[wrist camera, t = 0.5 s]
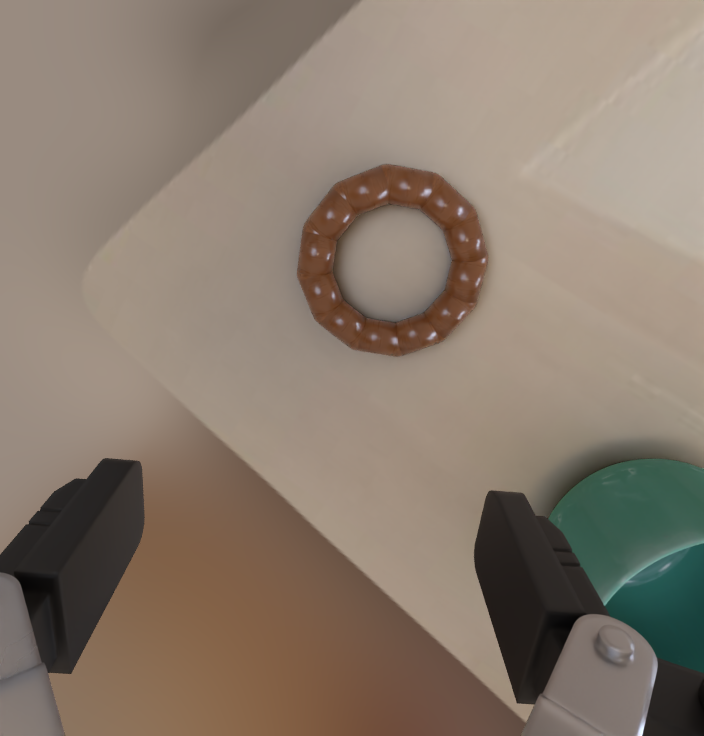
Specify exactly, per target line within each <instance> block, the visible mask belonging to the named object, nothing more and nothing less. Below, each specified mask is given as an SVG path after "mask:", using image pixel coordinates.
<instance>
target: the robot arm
mask: <svg viewBox="0 0 704 736" xmlns="http://www.w3.org/2000/svg"><path fill="white" fill-rule="evenodd" d="M143 527H144V499H143V479H142V466H141V463H140V462H139V461H133V460H121V459H109V458H105V459H103V460H102V461H101V462H100V463H99V464H98V466H97V467H96V468H95V469H94V470H93V472H92V473H91V474H90V475H89V477H88V478H87V479H74V480H72V481H71V482H69V483H68V484H66V485H65V486H63V487H61V488H59V489H58V490H56V491H54V493H53V494H52V495H51V496H50V497H49V498H48V500H47V501H46V502H45V503H44V504H43V506H42V507H41V509H40V511H37V513H36V514H35V515H34V516H33V517H32V518H31V520H30V521H29V524H28V525H25V526H24V528H23V529H22V530H21V531H20V532H19V533H18V535H17V536H16V537H15V538H14V539H13V541H12V542H11V543H10V544H9V545H8V546H7V548H6V549H5V550H4V551H3V552H2V553H1V555H0V736H65V733H64V730H63V726H62V723H61V719H60V716H59V712H58V708H57V705H56V701H55V697H54V694H53V690H52V686H51V683H50V679H49V675H48V673H63V674H71V673H72V671H73V669H74V667H75V665H76V663H77V661H78V659H79V657H80V656H81V654H82V652H83V650H84V648H85V646H86V644H87V642H88V640H89V638H90V637H91V634H92V633H93V631H94V629H95V627H96V625H97V623H98V621H99V619H100V618H101V616H102V614H103V612H104V610H105V608H106V606H107V604H108V602H109V601H110V599H111V597H112V595H113V593H114V591H115V589H116V587H117V585H118V583H119V581H120V579H121V578H122V576H123V574H124V572H125V570H126V568H127V566H128V564H129V562H130V561H131V558H132V557H133V555H134V553H135V551H136V549H137V547H138V545H139V543H140V540H141V537H142V533H143ZM474 562H475V569H476V573H477V576H478V580H479V583H480V586H481V589H482V592H483V596H484V599H485V602H486V605H487V608H488V612H489V615H490V618H491V621H492V625H493V628H494V631H495V634H496V637H497V641H498V644H499V647H500V650H501V653H502V657H503V660H504V663H505V666H506V669H507V673H508V676H509V679H510V682H511V685H512V689H513V692H514V695H515V698H516V702H517V703H521V704H535V705H534V707H533V709H532V712H531V714H530V716H529V718H528V720H527V723H526V725H525V727H524V729H523V731H522V734H521V736H704V673H702V672H699V671H695V670H692V669H689V668H686V667H683V666H680V665H677V664H674V663H671V662H668V661H665V660H663V659H660V658H658V657H656V655H655V653H654V651H653V649H652V647H651V646H650V645H649V643H648V642H647V641H646V640H645V639H644V638H643V637H642V636H641V635H640V634H639V633H638V632H637V631H636V630H634V629H633V628H631V627H630V626H628V625H627V624H625V623H623V622H621V621H619V620H617V619H615V618H612V617H611V616H610V614H609V613H608V611H607V609H606V607H605V606H604V604H603V602H602V600H601V599H600V597H599V595H598V593H597V592H596V590H595V588H594V586H593V585H592V583H591V581H590V579H589V578H588V576H587V574H586V572H585V571H584V569H583V567H580V562H579V560H578V558H577V557H576V555H575V553H572V548H571V546H570V544H569V543H568V541H567V539H566V537H565V536H564V534H563V532H562V531H561V530H560V529H558V528H557V527H556V526H555V525H554V524H553V523H552V522H551V521H550V520H548V519H547V518H546V517H544V516H535V514H534V512H533V510H532V508H531V506H530V504H529V502H528V500H527V499H526V497H525V495H524V494H523V493H517V492H504V491H489V492H488V494H487V496H486V499H485V504H484V508H483V512H482V516H481V521H480V525H479V529H478V533H477V538H476V542H475V549H474Z"/></svg>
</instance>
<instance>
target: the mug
mask: <svg viewBox="0 0 704 736" xmlns="http://www.w3.org/2000/svg"><path fill="white" fill-rule="evenodd" d="M548 520H550V521H551V522H552V523H553V524H554V525H555V526H556V527H557V528H558V529H560V530H561V531H562V532H563V534H564V536H565V537H566V539H567V541H568V543H569V544H570V546H571V548H572V553H575V555H576V557H577V558H578V560H579V562H580V567H583V569H584V571H585V572H586V574H587V576H588V578H589V579H590V581H591V583H592V585H593V586H594V588H595V590H596V592H597V593H598V595H599V597H600V599H601V600H602V602H603V604H604V606H605V607H606V609H607V611H608V613H609V614H610V616H611V617H612V618H615V619H617V620H619V621H621V622H623V623H625V624H627V625H628V626H630V627H631V628H633V629H634V630H636V631H637V632H638V633H639V634H640V635H641V636H642V637H643V638H644V639H645V640H646V641H647V642H648V643H649V645H650V646H651V647H652V649H653V651H654V653H655V655H656V657H658V658H660V659H663V660H665V661H668V662H671V663H674V664H677V665H680V666H683V667H686V668H689V669H692V670H695V671H699V672H702V673H704V469H702V468H700V467H697V466H694V465H691V464H688V463H684V462H680V461H675V460H668V459H638V460H631V461H626V462H622V463H618V464H614V465H611V466H608V467H606V468H603V469H601V470H599V471H597V472H595V473H593V474H591V475H590V476H588V477H587V478H585V479H583V480H582V481H581V482H579V483H578V484H577V485H575V486H574V487H573V488H572V489H571V490H570V491H569V492H568V493H567V494H566V495H565V496H564V497H563V498H562V499H561V500H560V501H559V503H558V504H557V505H556V507H555V508H554V509H553V511H552V513H551V514H550V516H549V518H548Z"/></svg>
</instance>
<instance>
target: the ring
mask: <svg viewBox="0 0 704 736" xmlns="http://www.w3.org/2000/svg"><path fill="white" fill-rule="evenodd" d="M386 204H393V205H399V206H404V207H410V208H415V209H420V210H421V211H422V212H423V213H424V214H426V215H427V216H428V217H429V218H430V219H431V220H432V221H433V222H434V223H436V224H437V225H438V226H439V227H440V228H441V229H442V230H443V232H444V235H445V239H446V242H447V245H448V249H449V252H450V255H451V259H452V262H451V266H450V270H449V274H448V278H447V283H446V287H445V290H444V291H443V292H442V294H441V295H440V296H439V297H438V298H437V299H436V300H435V301H434V302H433V303H432V305H431V306H430V307H429V308H428V309H427V310H426V311H425V312H424V313H422V314H419V315H416V316H414V317H411V318H408V319H405V320H402V321H399V322H397V323H393V322H387V321H381V320H375V319H369V318H365V317H364V316H363V315H362V314H360V313H359V312H358V311H357V310H355V309H354V308H353V307H352V306H350V305H349V304H348V303H347V302H345V301H344V300H343V298H342V295H341V293H340V290H339V288H338V285H337V282H336V280H335V277H334V275H333V272H332V271H333V264H334V258H335V252H336V245H337V240H338V239H339V238H340V237H341V235H342V234H343V233H344V232H345V230H346V229H347V228H348V227H349V225H350V224H351V223H352V222H353V220H354V219H355V218H356V217H357V215H360V214H362V213H365V212H368V211H370V210H373V209H376V208H378V207H381V206H383V205H386ZM487 263H488V253H487V249H486V245H485V242H484V238H483V234H482V231H481V227H480V223H479V220H478V216H477V213H476V210H475V208H474V207H473V206H472V205H471V204H470V203H469V202H468V201H467V200H466V199H465V198H464V197H463V196H461V195H460V194H459V193H458V192H457V191H456V190H455V189H454V188H453V187H452V186H451V185H450V184H449V183H447V182H446V181H445V180H444V179H443V178H442V177H441V176H440V175H438V174H436V173H433V172H428V171H423V170H418V169H412V168H407V167H401V166H396V165H391V164H384V165H381V166H378V167H375V168H373V169H370V170H368V171H365V172H363V173H360V174H358V175H355V176H352V177H350V178H347V179H345V180H342V181H340V182H338V183H336V184H335V185H334V186H333V187H332V188H331V190H330V191H329V192H328V194H327V195H326V196H325V198H324V199H323V200H322V201H321V203H320V204H319V205H318V207H317V208H316V209H315V210H314V212H313V213H312V214H311V216H310V217H309V218H308V219H307V221H306V222H305V224H304V226H303V231H302V239H301V246H300V254H299V261H298V268H297V277H298V280H299V283H300V285H301V287H302V290H303V292H304V295H305V297H306V300H307V302H308V305H309V307H310V309H311V312H312V314H313V317H314V319H315V320H316V321H317V322H318V323H319V324H320V325H321V326H323V327H324V328H325V329H326V330H328V331H329V332H330V333H332V334H333V335H334V336H335V337H337V338H338V339H339V340H341V341H342V342H343V343H344V344H346V345H347V346H348V347H350V348H351V349H354V350H358V351H364V352H371V353H377V354H383V355H389V356H403V355H405V354H408V353H411V352H414V351H417V350H420V349H423V348H426V347H429V346H431V345H434V344H437V343H440V342H442V341H444V340H445V339H446V338H447V337H448V336H449V335H450V334H451V332H452V331H453V330H454V329H455V328H456V327H457V326H458V325H459V324H460V323H461V322H462V321H463V320H464V319H465V318H466V316H467V315H468V314H469V313H470V312H471V311H472V310H473V309H474V308H475V306H476V304H477V301H478V298H479V294H480V290H481V286H482V282H483V278H484V275H485V271H486V267H487Z"/></svg>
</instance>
